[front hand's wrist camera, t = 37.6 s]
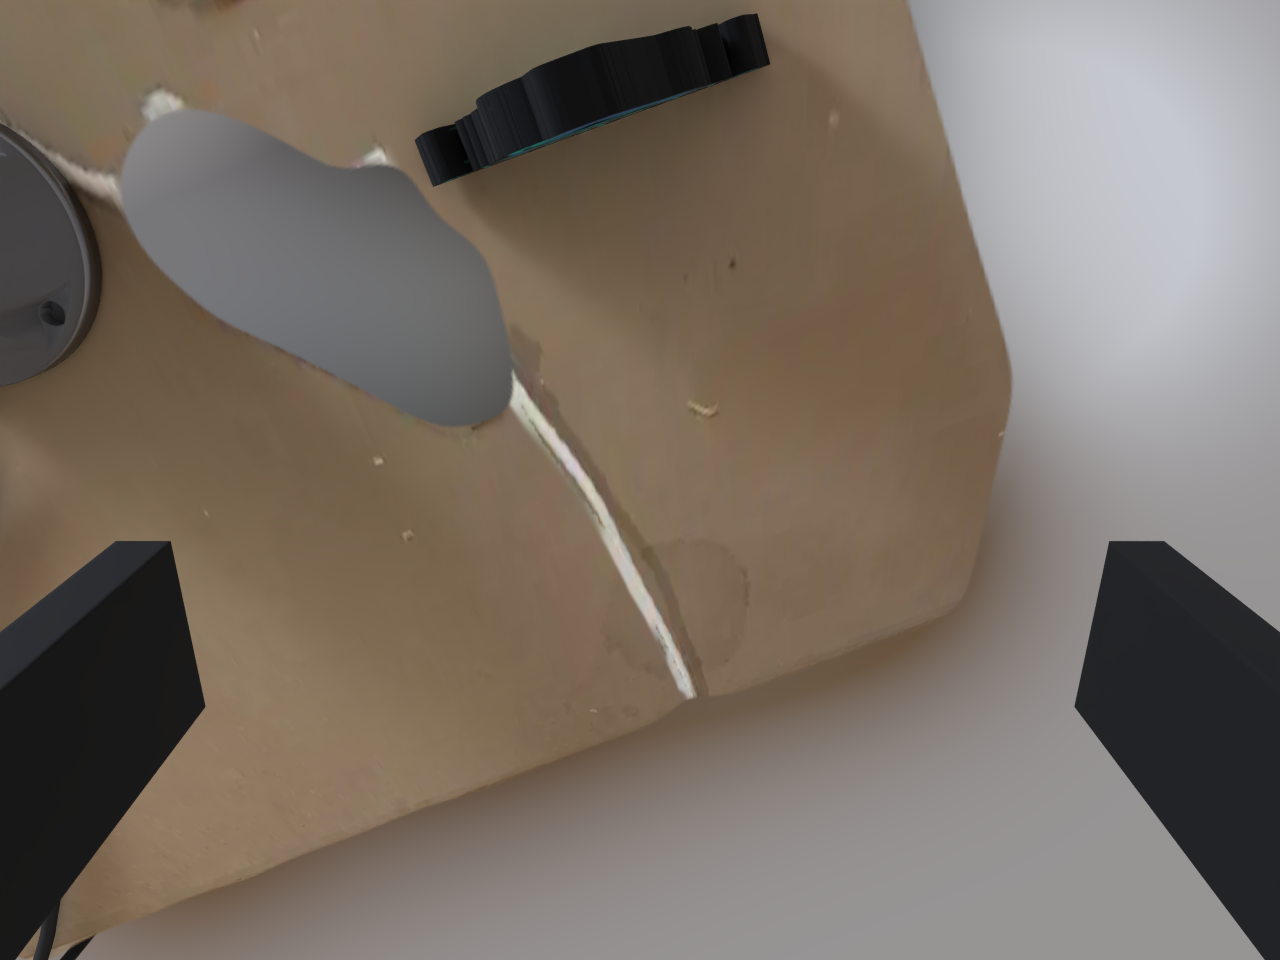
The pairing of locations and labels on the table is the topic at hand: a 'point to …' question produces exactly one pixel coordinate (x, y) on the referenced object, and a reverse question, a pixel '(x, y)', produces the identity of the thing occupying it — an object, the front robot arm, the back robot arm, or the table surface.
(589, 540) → the table surface
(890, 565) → the table surface
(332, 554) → the table surface
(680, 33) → the decorative sign
